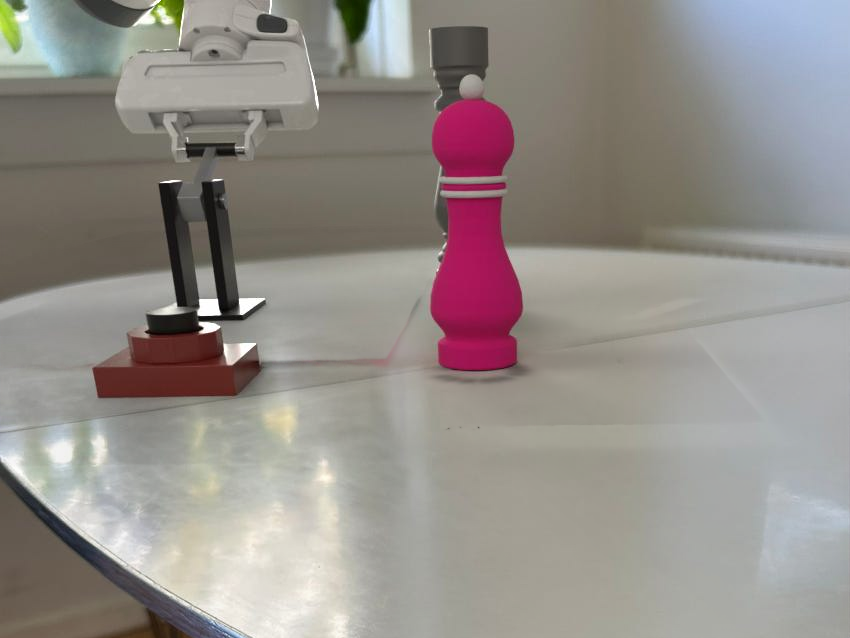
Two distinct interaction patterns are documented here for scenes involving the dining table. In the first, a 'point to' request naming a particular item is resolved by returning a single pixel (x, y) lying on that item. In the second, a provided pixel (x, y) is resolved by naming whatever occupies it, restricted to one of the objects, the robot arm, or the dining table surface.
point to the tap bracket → (221, 253)
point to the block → (177, 365)
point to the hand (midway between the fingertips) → (212, 156)
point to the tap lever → (201, 177)
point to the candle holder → (454, 83)
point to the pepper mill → (475, 236)
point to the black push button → (172, 321)
